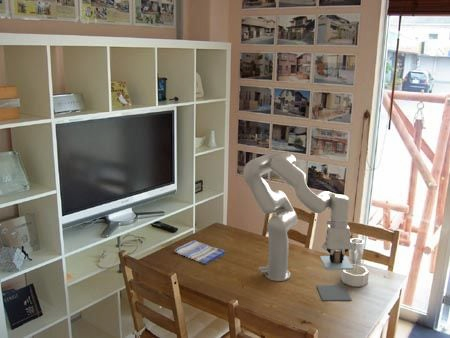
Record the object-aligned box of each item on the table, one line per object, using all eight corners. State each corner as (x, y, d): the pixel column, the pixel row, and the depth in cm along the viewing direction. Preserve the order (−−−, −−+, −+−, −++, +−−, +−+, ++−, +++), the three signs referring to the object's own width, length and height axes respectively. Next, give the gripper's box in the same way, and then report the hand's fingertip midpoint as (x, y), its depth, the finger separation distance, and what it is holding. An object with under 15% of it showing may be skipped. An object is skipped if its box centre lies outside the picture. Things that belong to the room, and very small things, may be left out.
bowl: (345, 287, 217) (346, 275, 215) (338, 275, 228) (339, 264, 226) (369, 287, 217) (371, 275, 215) (362, 275, 228) (363, 264, 227)
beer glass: (362, 272, 231) (364, 244, 227) (347, 270, 233) (350, 243, 229) (361, 265, 238) (363, 238, 234) (347, 264, 239) (349, 237, 235)
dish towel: (194, 243, 265) (194, 238, 264) (226, 254, 251) (226, 250, 250) (172, 253, 252) (172, 248, 251) (205, 266, 238) (205, 261, 237)
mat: (322, 300, 205) (322, 299, 205) (316, 285, 218) (316, 285, 218) (351, 300, 206) (351, 299, 205) (344, 285, 218) (344, 285, 218)
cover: (325, 269, 202) (326, 257, 200) (320, 257, 213) (320, 245, 212) (353, 269, 202) (354, 257, 200) (346, 257, 214) (346, 245, 212)
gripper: (321, 226, 199) (319, 265, 204) (360, 226, 199) (357, 265, 204) (318, 220, 206) (316, 258, 211) (355, 220, 207) (352, 257, 211)
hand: (336, 261), depth 207 cm, fingers closed on cover, 3 cm apart
